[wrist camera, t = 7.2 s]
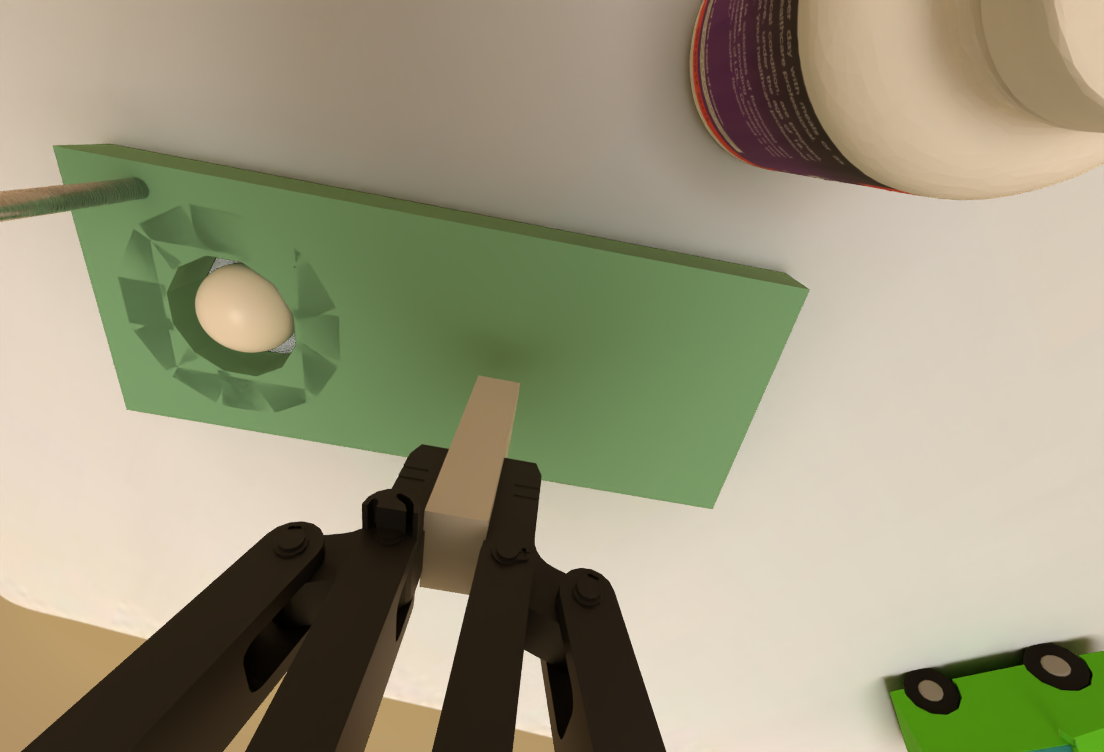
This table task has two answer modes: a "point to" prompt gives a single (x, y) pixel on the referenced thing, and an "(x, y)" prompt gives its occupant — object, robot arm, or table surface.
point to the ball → (243, 310)
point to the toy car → (1008, 706)
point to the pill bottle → (906, 90)
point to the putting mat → (432, 325)
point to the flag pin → (69, 197)
